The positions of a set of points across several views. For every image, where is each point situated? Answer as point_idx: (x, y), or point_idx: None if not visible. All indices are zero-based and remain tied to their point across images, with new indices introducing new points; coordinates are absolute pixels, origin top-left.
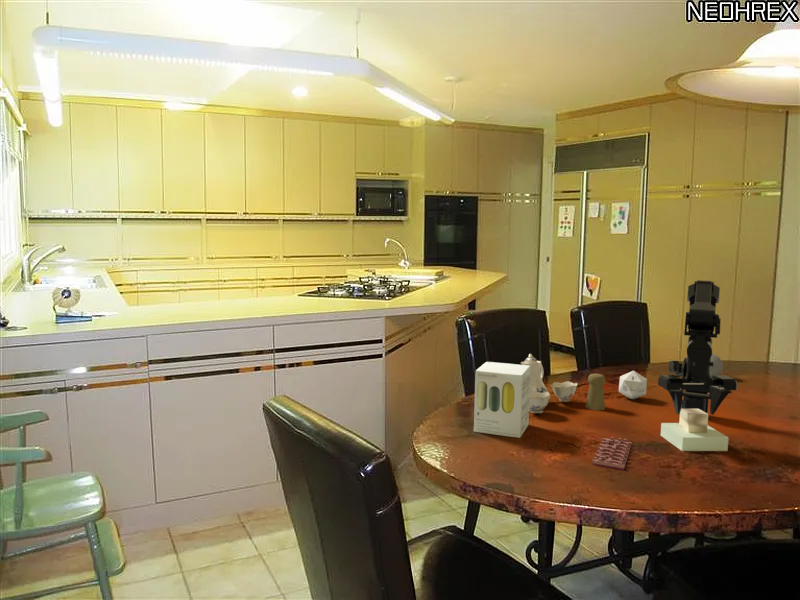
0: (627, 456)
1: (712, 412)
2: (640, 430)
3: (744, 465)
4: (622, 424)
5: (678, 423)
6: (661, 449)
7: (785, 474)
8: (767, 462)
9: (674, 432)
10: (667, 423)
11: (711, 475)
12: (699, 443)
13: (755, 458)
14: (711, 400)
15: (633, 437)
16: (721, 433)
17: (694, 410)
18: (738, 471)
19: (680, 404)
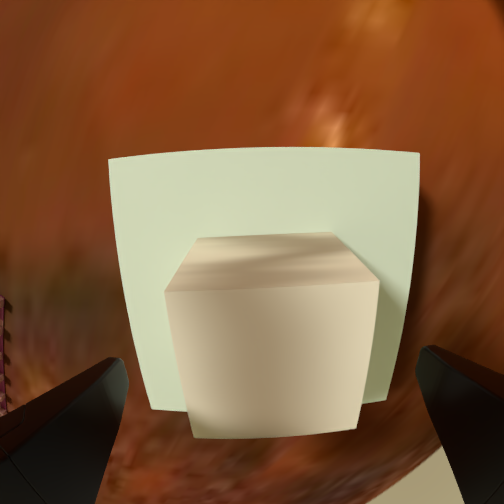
0: (3, 387)
1: (420, 386)
2: (72, 88)
3: (325, 461)
4: (38, 19)
5: (227, 161)
6: (91, 349)
7: (384, 482)
8: (412, 432)
9: (134, 334)
10: (145, 166)
11: (189, 498)
12: None
13: (406, 412)
14: (490, 408)
15: (17, 205)
16: (397, 349)
17: (295, 351)
18: (276, 488)
19: (93, 476)
